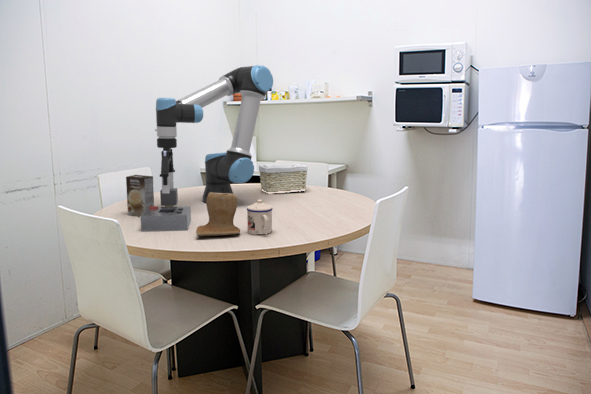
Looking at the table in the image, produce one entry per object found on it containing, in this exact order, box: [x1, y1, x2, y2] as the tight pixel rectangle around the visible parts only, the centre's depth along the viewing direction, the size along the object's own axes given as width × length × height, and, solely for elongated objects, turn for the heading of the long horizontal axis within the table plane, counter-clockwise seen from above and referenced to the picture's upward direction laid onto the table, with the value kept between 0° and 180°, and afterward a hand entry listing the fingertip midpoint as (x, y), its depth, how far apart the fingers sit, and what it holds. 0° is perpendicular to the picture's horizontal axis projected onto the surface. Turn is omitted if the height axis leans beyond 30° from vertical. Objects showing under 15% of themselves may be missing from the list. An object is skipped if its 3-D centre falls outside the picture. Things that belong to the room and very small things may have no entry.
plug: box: [159, 187, 179, 207], centre depth 185 cm, size 6×6×11 cm
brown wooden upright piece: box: [195, 192, 241, 237], centre depth 157 cm, size 15×12×15 cm
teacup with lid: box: [246, 199, 273, 235], centre depth 160 cm, size 12×9×12 cm
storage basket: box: [258, 162, 308, 192], centre depth 246 cm, size 24×16×15 cm
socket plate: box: [140, 205, 192, 232], centre depth 170 cm, size 16×16×6 cm
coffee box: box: [125, 174, 155, 217], centre depth 186 cm, size 9×6×16 cm
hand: (168, 190), depth 184 cm, fingers open, 13 cm apart
